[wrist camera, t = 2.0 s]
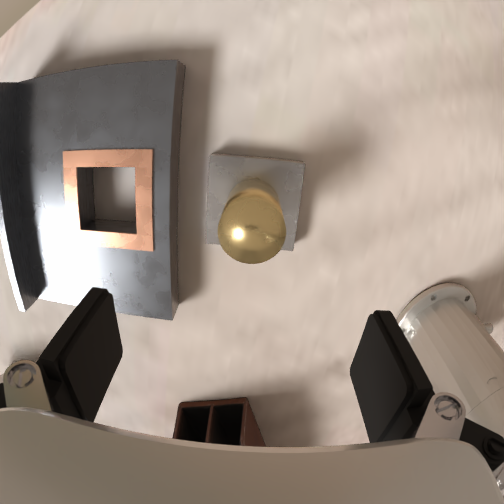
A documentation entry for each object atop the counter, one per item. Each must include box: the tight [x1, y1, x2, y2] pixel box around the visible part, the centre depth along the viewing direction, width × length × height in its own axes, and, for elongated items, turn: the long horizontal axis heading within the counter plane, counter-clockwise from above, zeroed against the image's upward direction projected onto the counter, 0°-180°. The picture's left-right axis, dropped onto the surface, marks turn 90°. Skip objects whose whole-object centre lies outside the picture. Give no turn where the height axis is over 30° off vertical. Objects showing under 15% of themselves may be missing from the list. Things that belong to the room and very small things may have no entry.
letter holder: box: [172, 397, 266, 447], centre depth 37 cm, size 10×20×14 cm, turn 12°
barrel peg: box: [218, 179, 286, 264], centre depth 24 cm, size 4×4×7 cm
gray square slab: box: [206, 153, 305, 251], centre depth 28 cm, size 8×8×2 cm
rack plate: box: [0, 60, 185, 320], centre depth 25 cm, size 18×24×6 cm
